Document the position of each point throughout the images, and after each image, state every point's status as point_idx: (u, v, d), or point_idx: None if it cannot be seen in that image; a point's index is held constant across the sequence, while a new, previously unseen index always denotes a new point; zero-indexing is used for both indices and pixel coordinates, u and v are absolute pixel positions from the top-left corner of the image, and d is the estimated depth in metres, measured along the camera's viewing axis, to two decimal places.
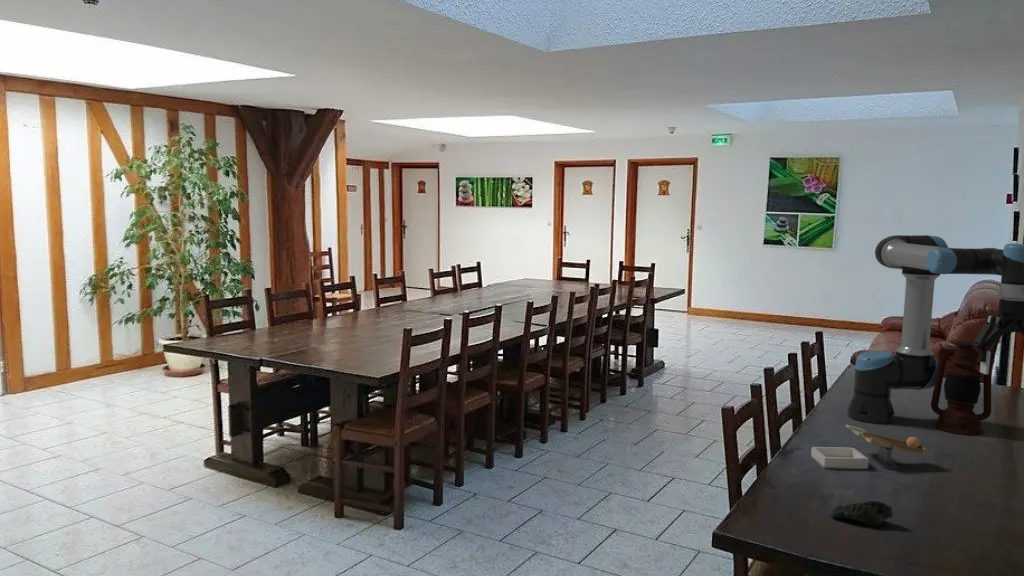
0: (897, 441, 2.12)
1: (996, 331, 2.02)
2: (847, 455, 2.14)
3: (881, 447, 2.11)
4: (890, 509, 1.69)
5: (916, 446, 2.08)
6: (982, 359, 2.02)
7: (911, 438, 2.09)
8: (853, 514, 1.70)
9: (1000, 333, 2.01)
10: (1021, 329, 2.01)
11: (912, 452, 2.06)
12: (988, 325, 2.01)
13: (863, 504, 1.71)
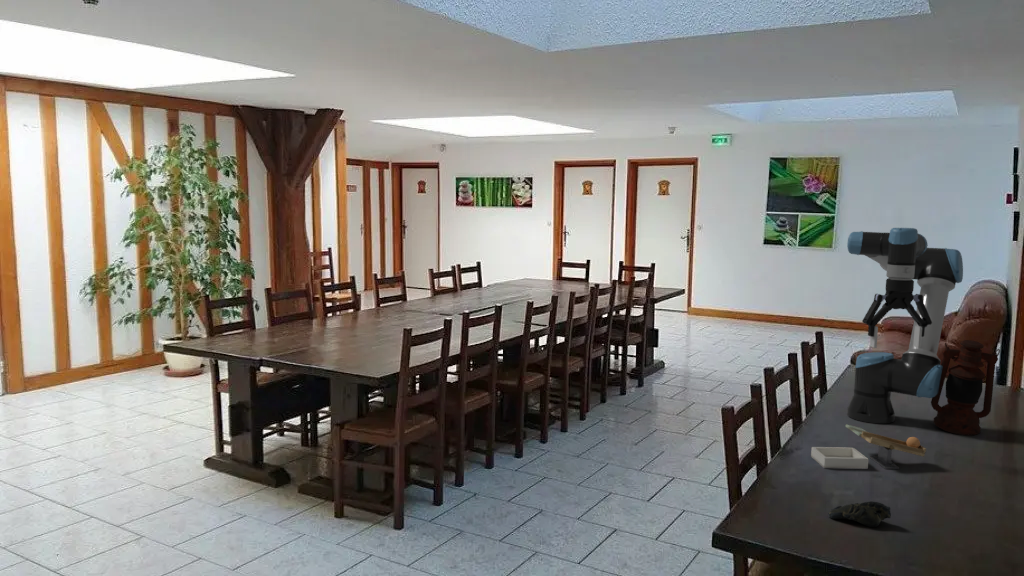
0: (897, 441, 2.12)
1: (883, 308, 2.20)
2: (847, 455, 2.14)
3: (881, 447, 2.11)
4: (888, 510, 1.68)
5: (916, 446, 2.08)
6: (871, 334, 2.20)
7: (911, 438, 2.09)
8: (851, 514, 1.70)
9: (886, 310, 2.19)
10: (905, 306, 2.19)
11: (912, 452, 2.06)
12: (875, 302, 2.19)
13: (861, 504, 1.70)
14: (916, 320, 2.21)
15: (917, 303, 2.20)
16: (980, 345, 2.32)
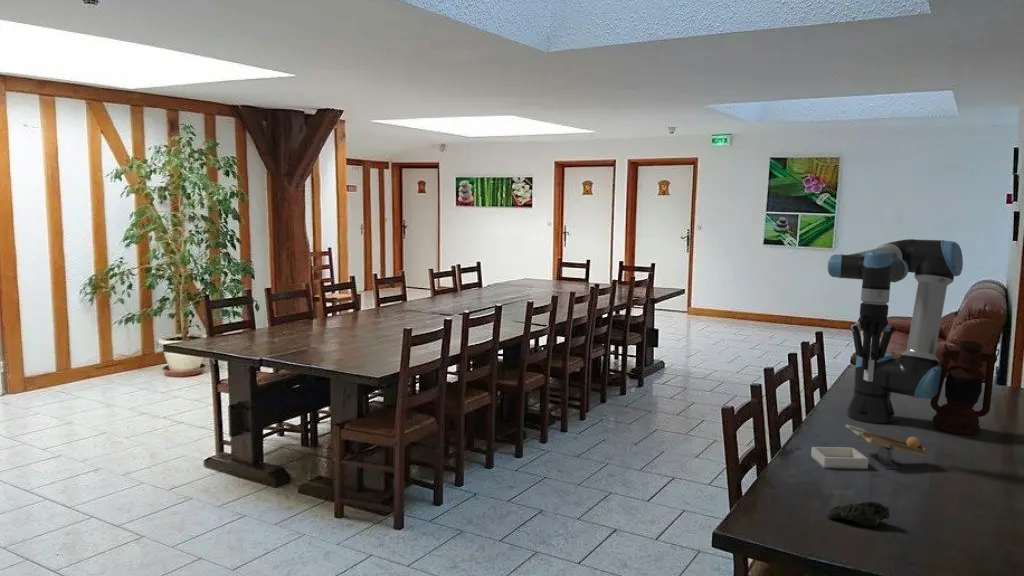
0: (897, 441, 2.12)
1: (865, 337, 2.16)
2: (847, 455, 2.14)
3: (881, 447, 2.11)
4: (887, 510, 1.68)
5: (916, 446, 2.08)
6: (864, 367, 2.16)
7: (911, 438, 2.09)
8: (849, 515, 1.69)
9: (868, 338, 2.15)
10: (875, 330, 2.14)
11: (912, 452, 2.06)
12: (855, 334, 2.15)
13: (860, 505, 1.70)
14: (872, 350, 2.16)
15: (885, 333, 2.16)
16: (980, 346, 2.31)
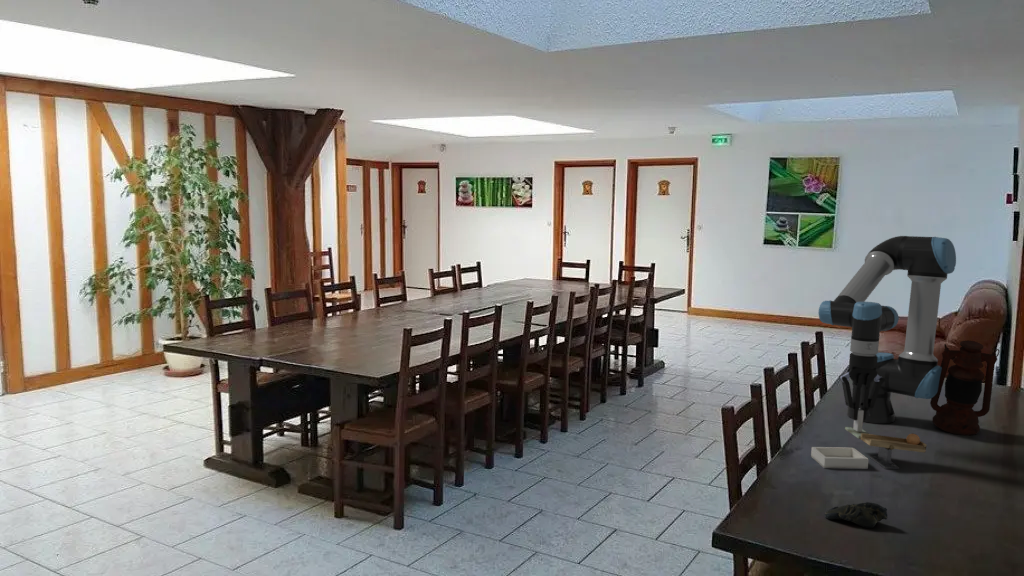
0: (897, 439, 2.12)
1: (854, 388, 2.16)
2: (847, 455, 2.14)
3: (881, 447, 2.11)
4: (885, 511, 1.68)
5: (916, 443, 2.08)
6: (854, 417, 2.16)
7: (910, 435, 2.09)
8: (847, 515, 1.69)
9: (858, 389, 2.15)
10: (864, 381, 2.15)
11: (913, 449, 2.06)
12: (844, 385, 2.15)
13: (858, 505, 1.70)
14: (862, 400, 2.16)
15: (874, 383, 2.16)
16: (980, 346, 2.31)
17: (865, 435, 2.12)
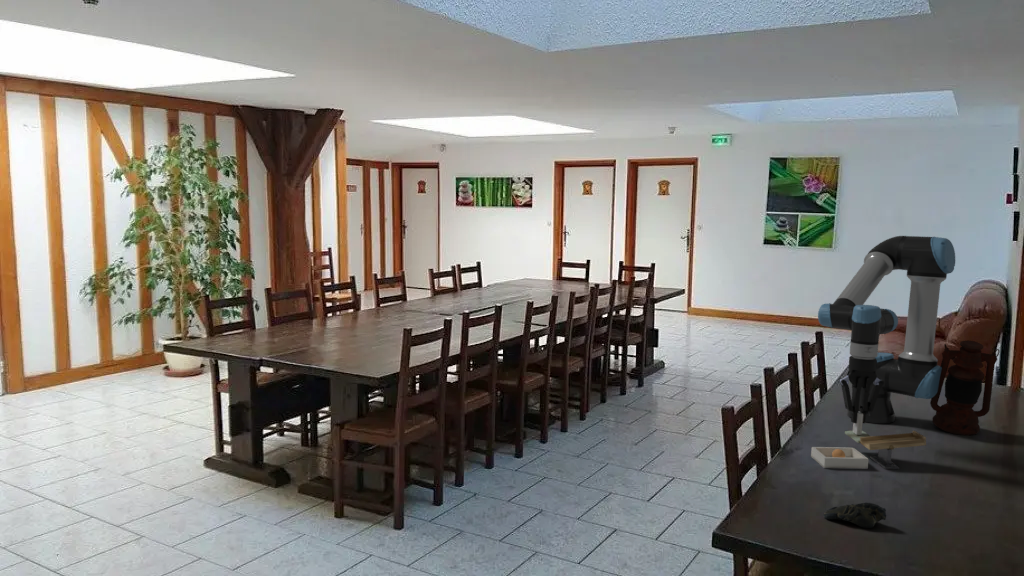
0: (897, 436, 2.11)
1: (854, 391, 2.16)
2: (847, 455, 2.14)
3: None
4: (884, 511, 1.67)
5: None
6: (853, 420, 2.17)
7: (837, 450, 2.09)
8: (846, 515, 1.69)
9: (857, 392, 2.15)
10: (863, 384, 2.15)
11: (913, 445, 2.06)
12: (844, 388, 2.16)
13: (857, 505, 1.70)
14: (861, 403, 2.17)
15: (874, 386, 2.16)
16: (980, 346, 2.31)
17: (864, 439, 2.12)
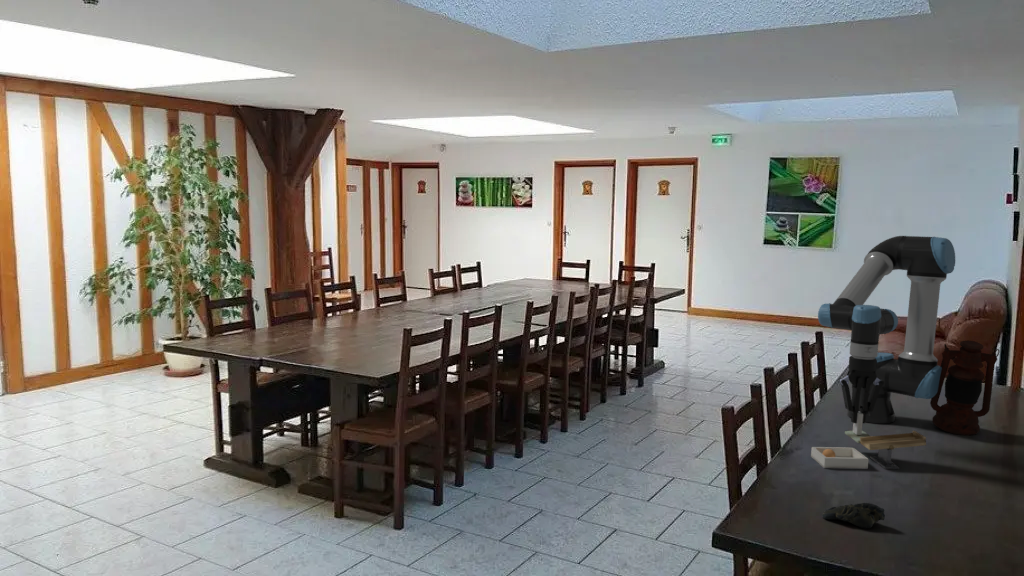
0: (897, 436, 2.11)
1: (854, 391, 2.16)
2: (847, 455, 2.14)
3: None
4: (882, 511, 1.67)
5: (833, 456, 2.08)
6: (853, 420, 2.17)
7: None
8: (844, 515, 1.69)
9: (857, 392, 2.15)
10: (863, 384, 2.15)
11: (913, 445, 2.06)
12: (844, 388, 2.16)
13: (855, 506, 1.70)
14: (861, 403, 2.17)
15: (874, 386, 2.16)
16: (980, 346, 2.31)
17: (864, 439, 2.12)
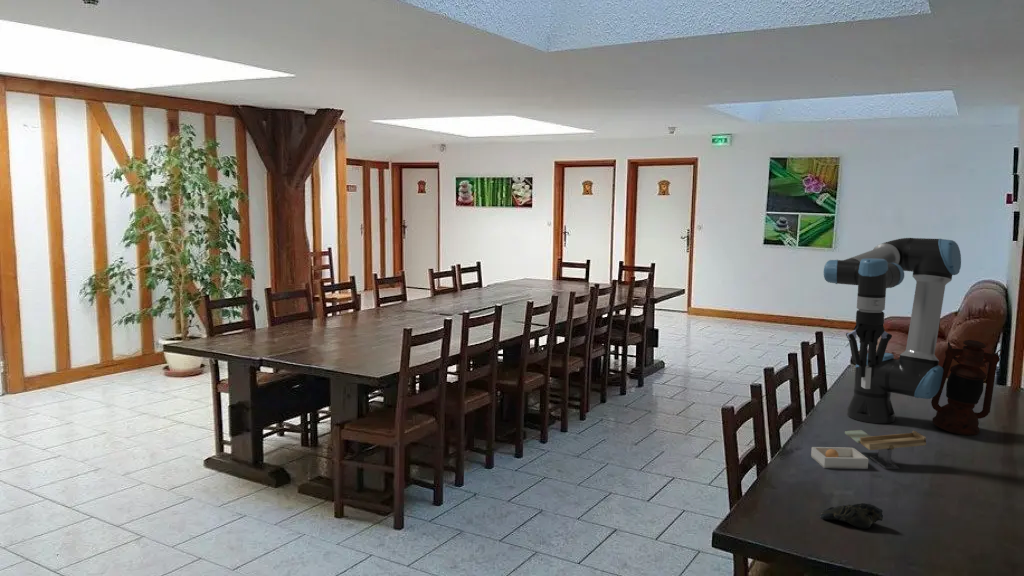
0: (897, 436, 2.11)
1: (861, 345, 2.15)
2: (847, 455, 2.14)
3: None
4: (880, 512, 1.67)
5: None
6: (861, 375, 2.16)
7: (826, 455, 2.10)
8: (842, 516, 1.69)
9: (865, 346, 2.14)
10: (871, 338, 2.14)
11: (913, 445, 2.06)
12: (851, 343, 2.15)
13: (853, 506, 1.70)
14: (869, 357, 2.16)
15: (882, 340, 2.15)
16: (983, 345, 2.33)
17: (864, 439, 2.12)
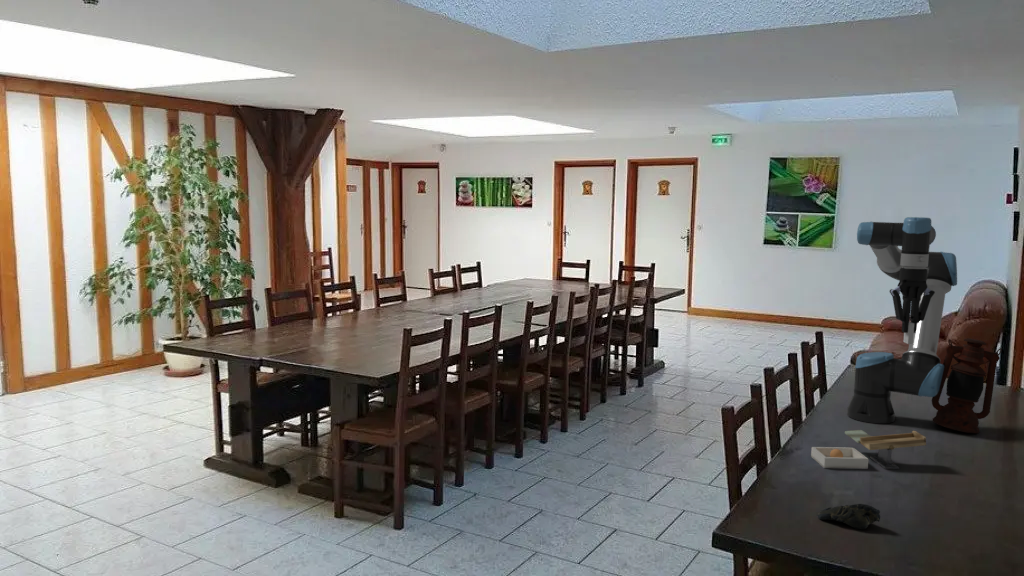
0: (897, 436, 2.11)
1: (905, 301, 2.22)
2: (847, 455, 2.14)
3: None
4: (878, 513, 1.67)
5: None
6: (904, 330, 2.23)
7: (833, 451, 2.09)
8: (839, 516, 1.69)
9: (908, 302, 2.21)
10: (914, 294, 2.21)
11: (913, 445, 2.06)
12: (895, 299, 2.22)
13: (850, 506, 1.69)
14: (912, 313, 2.23)
15: (924, 297, 2.22)
16: (983, 342, 2.38)
17: (864, 439, 2.12)
